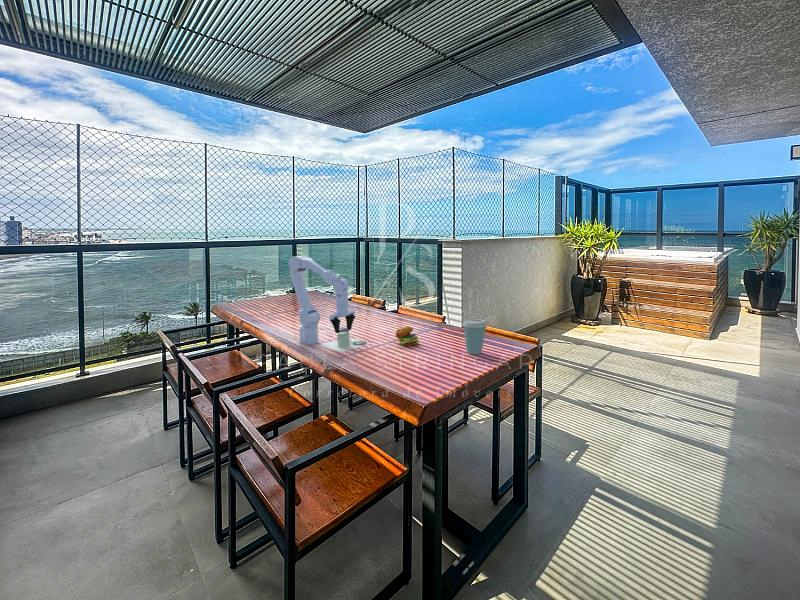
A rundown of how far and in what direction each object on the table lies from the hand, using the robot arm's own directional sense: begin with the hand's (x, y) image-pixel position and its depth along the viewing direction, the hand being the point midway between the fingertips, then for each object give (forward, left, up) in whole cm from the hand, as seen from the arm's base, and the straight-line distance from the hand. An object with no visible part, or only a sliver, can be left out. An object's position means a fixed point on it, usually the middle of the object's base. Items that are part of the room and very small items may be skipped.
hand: (343, 331), depth 183 cm
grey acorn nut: (-7, +6, -7) cm, 12 cm away
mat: (-1, +1, -8) cm, 8 cm away
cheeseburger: (+22, +22, -8) cm, 32 cm away
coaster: (+4, +7, -7) cm, 11 cm away
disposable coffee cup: (+55, +30, -8) cm, 63 cm away
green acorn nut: (0, 0, -7) cm, 7 cm away
